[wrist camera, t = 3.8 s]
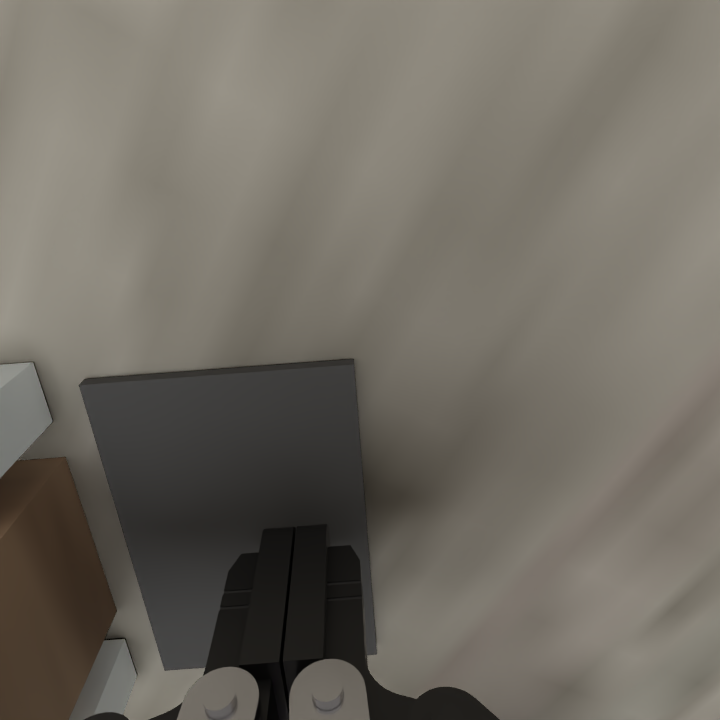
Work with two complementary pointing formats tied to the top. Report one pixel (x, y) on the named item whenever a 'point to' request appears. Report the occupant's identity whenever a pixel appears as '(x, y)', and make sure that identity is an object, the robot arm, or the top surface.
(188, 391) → the mat
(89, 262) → the top surface
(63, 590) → the block
